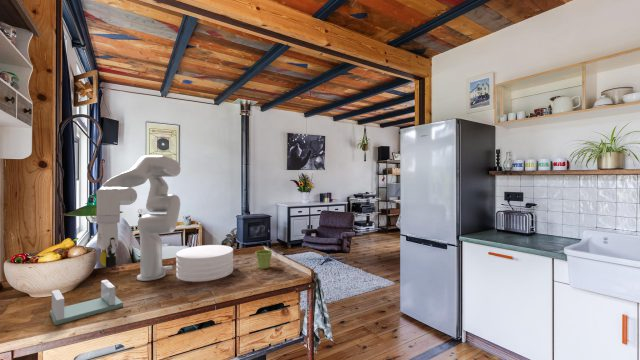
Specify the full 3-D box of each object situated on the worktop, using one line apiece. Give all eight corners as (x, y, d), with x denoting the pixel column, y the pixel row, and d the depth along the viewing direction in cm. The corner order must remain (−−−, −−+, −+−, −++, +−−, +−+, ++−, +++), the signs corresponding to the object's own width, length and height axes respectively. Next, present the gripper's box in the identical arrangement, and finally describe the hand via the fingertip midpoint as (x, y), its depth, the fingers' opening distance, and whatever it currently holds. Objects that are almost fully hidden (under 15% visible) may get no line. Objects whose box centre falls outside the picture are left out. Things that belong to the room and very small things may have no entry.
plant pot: (257, 264, 172) (257, 249, 172) (274, 265, 172) (273, 249, 172) (253, 269, 163) (253, 254, 163) (270, 270, 163) (270, 254, 163)
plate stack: (222, 282, 145) (222, 258, 145) (165, 281, 145) (165, 258, 145) (239, 264, 173) (239, 245, 173) (191, 264, 173) (191, 244, 173)
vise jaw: (107, 295, 123) (106, 279, 123) (115, 303, 115) (115, 286, 115) (101, 296, 122) (100, 280, 122) (109, 305, 114) (109, 288, 114)
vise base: (114, 298, 125) (114, 277, 125) (122, 306, 117) (122, 284, 117) (50, 314, 110) (49, 291, 110) (54, 325, 102) (54, 300, 102)
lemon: (98, 267, 118) (98, 247, 118) (115, 264, 122) (115, 245, 122) (101, 270, 114) (101, 249, 114) (118, 267, 118) (118, 247, 118)
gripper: (90, 218, 121) (90, 263, 121) (103, 222, 110) (103, 271, 110) (112, 216, 127) (112, 259, 127) (126, 220, 116) (126, 267, 115)
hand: (108, 264), depth 118 cm, fingers closed on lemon, 5 cm apart
